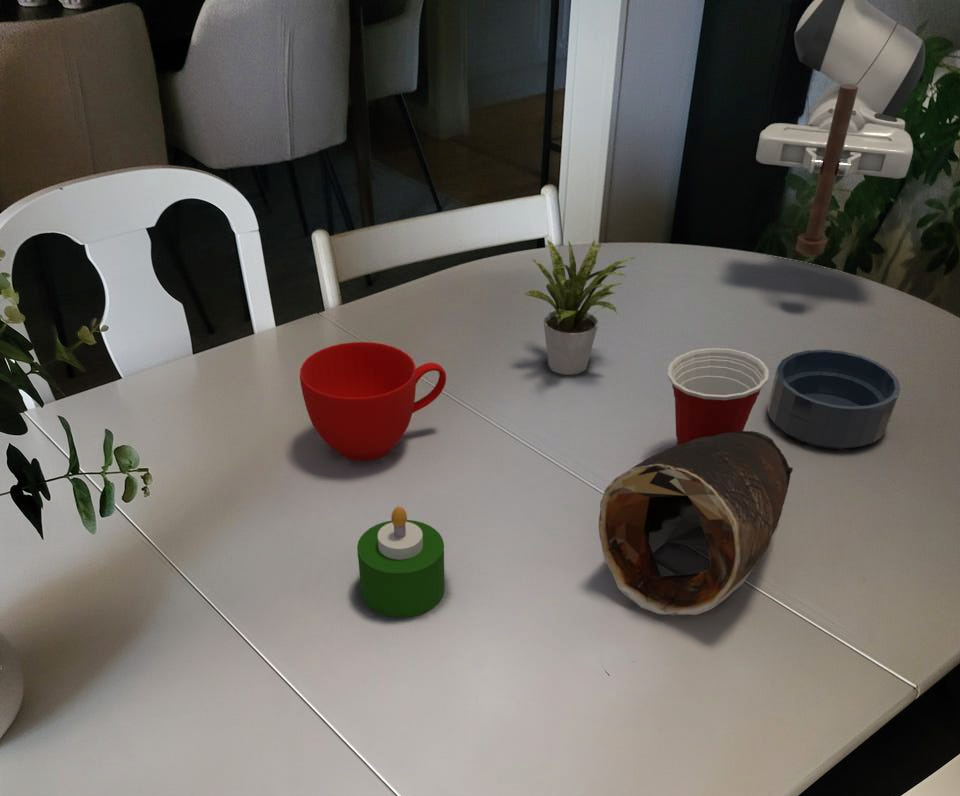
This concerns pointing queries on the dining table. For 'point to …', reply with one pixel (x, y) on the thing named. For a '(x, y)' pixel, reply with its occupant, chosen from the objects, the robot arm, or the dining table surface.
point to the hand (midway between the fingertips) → (829, 169)
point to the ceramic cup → (363, 396)
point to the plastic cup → (714, 391)
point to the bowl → (832, 398)
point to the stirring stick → (828, 173)
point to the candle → (401, 566)
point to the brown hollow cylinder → (694, 518)
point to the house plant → (573, 309)
